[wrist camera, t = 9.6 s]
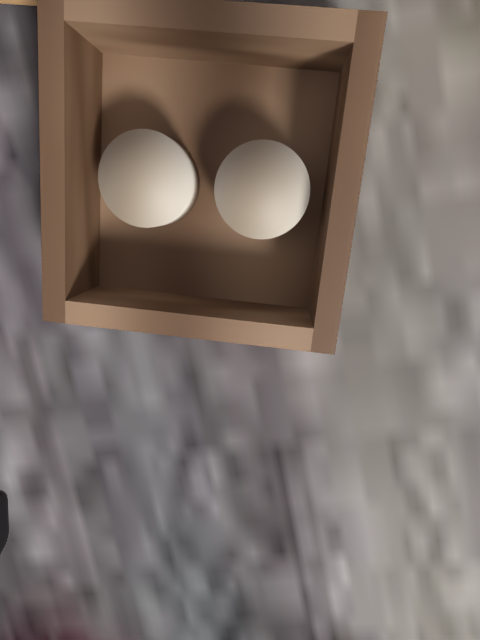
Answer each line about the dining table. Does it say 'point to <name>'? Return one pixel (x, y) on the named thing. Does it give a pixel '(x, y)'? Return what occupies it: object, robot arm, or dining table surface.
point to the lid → (20, 2)
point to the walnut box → (203, 165)
